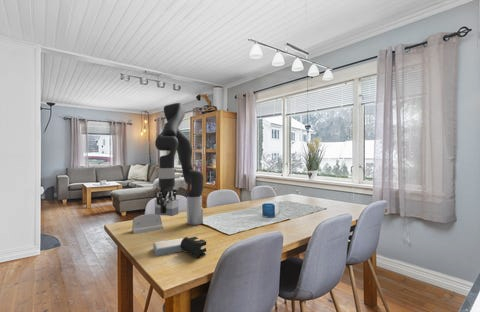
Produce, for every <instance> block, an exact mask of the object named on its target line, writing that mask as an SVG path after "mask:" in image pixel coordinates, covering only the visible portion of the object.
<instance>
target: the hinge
mask: <svg viewBox="0 0 480 312" xmlns="http://www.w3.org/2000/svg"><path fill="white" fill-rule="evenodd" d="M161 216H162V215H156V214H155V213H145V214H142V215H138V216H136V217H134V218H133V220H132V227H131V232H133V234H141V233H148V232H152V231H153V232H155V231H159V230H163V229H164V224H163V221H162V218H161Z"/></svg>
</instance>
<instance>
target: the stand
mask: <svg viewBox="0 0 480 312" xmlns="http://www.w3.org/2000/svg"><path fill="white" fill-rule="evenodd" d="M183 239H184V237H183V238H182V237H181V238H175V239H169V240H162V241H157V242H156V241H155V242H153V243H152V244H153V245H152V249H153V252H154V254H155V256H156V257H157V256H163V255H164V256H165V255H170V254H175V253H179V252H180V253H181V252H184V251H183V250H182V249H181V241H182V240H183Z"/></svg>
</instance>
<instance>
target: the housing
mask: <svg viewBox="0 0 480 312" xmlns="http://www.w3.org/2000/svg"><path fill="white" fill-rule="evenodd" d="M163 199H164V198H163ZM159 202H160V201H159ZM163 202H164V201H163ZM160 210H161V209H160V205H157V200H156V199H155V200H154V214H156V215H160V216H165V217H166V216H167V217H174V216H177V215H179V199H177V198H176V199H174V198H173V199H167V201H166V204H165V214H162V213H161V212H160Z"/></svg>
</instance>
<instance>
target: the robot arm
mask: <svg viewBox="0 0 480 312" xmlns="http://www.w3.org/2000/svg"><path fill="white" fill-rule="evenodd" d="M163 113H164V116H165V119H166V123H165V124H164V127H163V129H162V131H161V133H159V134H158V136H157V137H156V139H155V148H156V150H158V151H162V152H163V151H164V152H165V151H167V152H169V153H168V154H166V155H161V156H159V158H158V159H159V161H158V162H159V163H158V164H159V166H158V167H159V168H158V188H160V190H159V192H156V193H155V200H157V205H160V209H161V210H160V212H161V213H162V214H165V204H166V201H167V199H177V194H178V193H177V191H178V190H177V189H174V187H175V186H176V183H175V182H176V180H175V179H176V176H175V175H176V172H175V157H176V153H177V155H178V158H179V162H180V166H181V170H182V176H183V180H184V182H185V183H186V184H187V185H190V187H191V188H190V190H188V191H186V225H190V226H198V225H201V224H203V223H204V208H203V206H202V205H203V196H202V195H203V194H202V193H203V191H204V174H203V173H202V172H201V170H194V168H193V164H192V156H193V146H192V143H191V140H190V138H189V137H188V136H187V135H186V134H185V133H184V132H183V131H182V130H181V129H180V128H179V127H180V125H181V123H182V122H183V119H184V118H185V115H186V112H185V107H184V105H183V104H182V103H180V102H175V103H171V104H166V105H164V106H163ZM163 198H164V199H163ZM159 201H160V202H159ZM163 201H164V202H163Z"/></svg>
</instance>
